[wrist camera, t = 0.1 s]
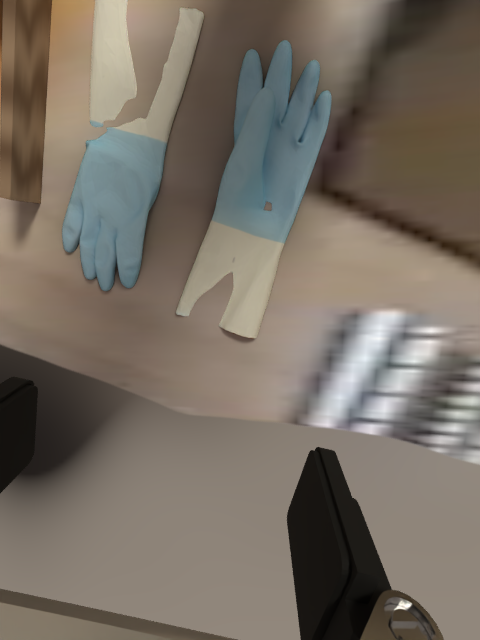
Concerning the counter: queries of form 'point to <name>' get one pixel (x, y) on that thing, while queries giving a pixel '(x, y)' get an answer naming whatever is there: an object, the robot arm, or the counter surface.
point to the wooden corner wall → (23, 97)
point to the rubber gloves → (237, 181)
